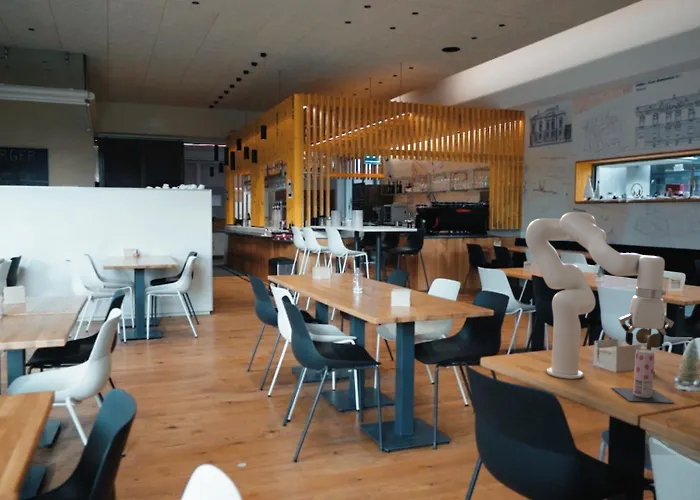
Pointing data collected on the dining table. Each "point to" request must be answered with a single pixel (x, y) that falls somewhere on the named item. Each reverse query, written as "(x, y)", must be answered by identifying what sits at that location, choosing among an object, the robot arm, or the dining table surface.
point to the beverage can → (643, 373)
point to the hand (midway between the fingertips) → (644, 345)
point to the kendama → (647, 338)
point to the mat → (631, 397)
